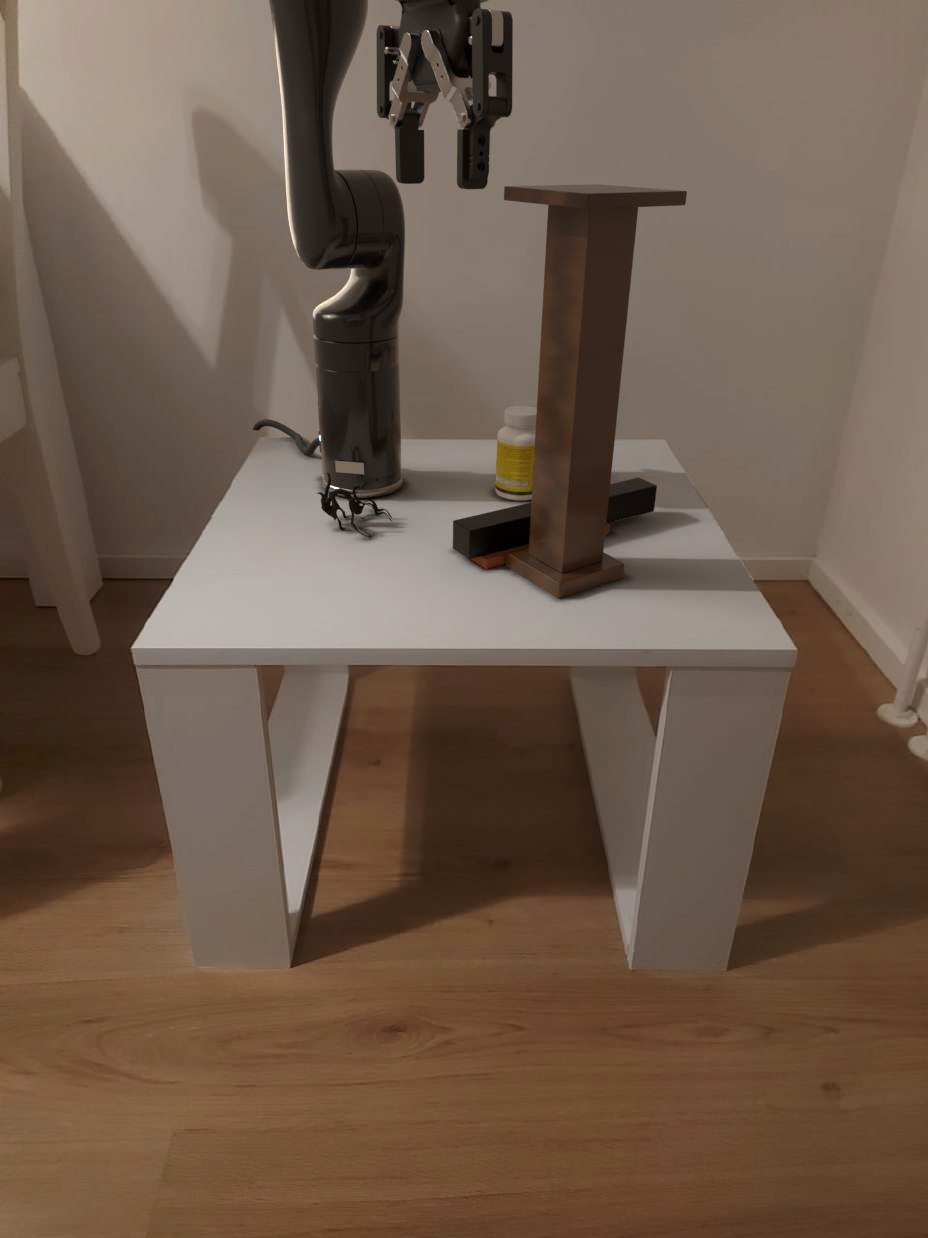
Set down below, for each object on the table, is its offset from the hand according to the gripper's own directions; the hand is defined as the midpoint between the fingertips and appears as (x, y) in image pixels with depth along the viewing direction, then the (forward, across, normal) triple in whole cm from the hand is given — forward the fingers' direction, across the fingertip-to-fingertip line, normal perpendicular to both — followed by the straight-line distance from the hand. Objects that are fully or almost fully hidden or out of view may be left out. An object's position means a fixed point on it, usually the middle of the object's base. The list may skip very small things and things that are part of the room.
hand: (439, 185), depth 65 cm
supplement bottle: (+33, +14, -20) cm, 41 cm away
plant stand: (+33, -5, -11) cm, 35 cm away
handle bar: (+31, +3, -16) cm, 35 cm away
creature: (+33, +16, 0) cm, 37 cm away
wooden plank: (+33, +2, -13) cm, 36 cm away
